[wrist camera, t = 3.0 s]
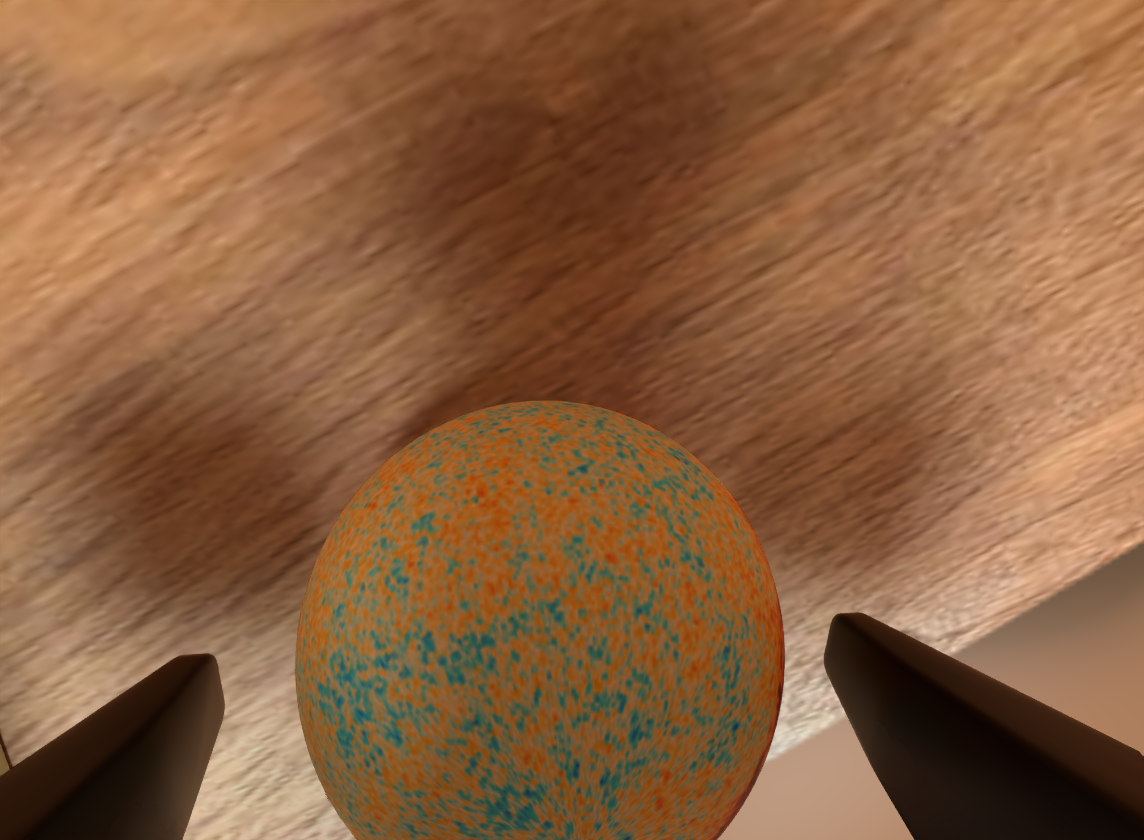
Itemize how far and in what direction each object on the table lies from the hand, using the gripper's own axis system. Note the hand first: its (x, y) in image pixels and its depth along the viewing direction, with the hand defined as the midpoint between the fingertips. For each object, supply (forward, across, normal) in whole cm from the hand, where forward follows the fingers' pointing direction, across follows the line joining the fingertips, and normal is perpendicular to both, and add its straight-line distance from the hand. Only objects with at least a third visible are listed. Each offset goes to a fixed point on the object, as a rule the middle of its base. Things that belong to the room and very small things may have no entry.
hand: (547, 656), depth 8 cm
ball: (+4, 0, 0) cm, 4 cm away
